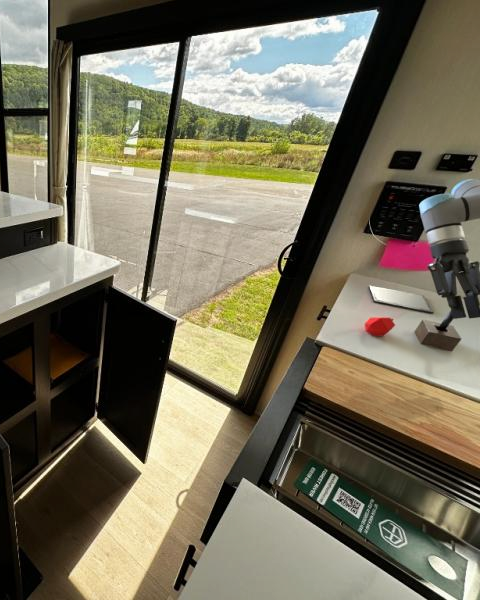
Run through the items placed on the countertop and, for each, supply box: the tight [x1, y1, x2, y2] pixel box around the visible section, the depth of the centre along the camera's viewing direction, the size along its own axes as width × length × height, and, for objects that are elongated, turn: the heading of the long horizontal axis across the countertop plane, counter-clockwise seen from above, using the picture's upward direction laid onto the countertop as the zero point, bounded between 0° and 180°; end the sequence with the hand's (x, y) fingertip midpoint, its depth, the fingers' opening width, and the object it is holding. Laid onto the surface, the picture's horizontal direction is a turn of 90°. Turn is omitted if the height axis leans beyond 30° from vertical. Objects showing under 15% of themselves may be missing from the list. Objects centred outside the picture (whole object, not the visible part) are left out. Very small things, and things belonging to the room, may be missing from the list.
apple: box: [364, 316, 396, 337], centre depth 105 cm, size 7×7×8 cm
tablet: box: [368, 285, 435, 315], centre depth 123 cm, size 17×13×1 cm
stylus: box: [437, 310, 454, 331], centre depth 99 cm, size 2×2×14 cm
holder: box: [414, 319, 462, 352], centre depth 101 cm, size 7×7×5 cm
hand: (467, 317), depth 93 cm, fingers open, 4 cm apart
